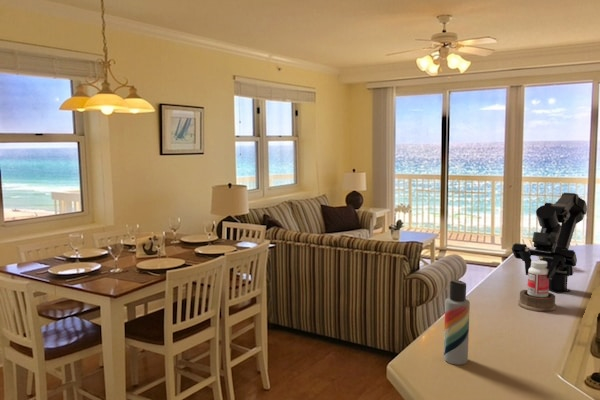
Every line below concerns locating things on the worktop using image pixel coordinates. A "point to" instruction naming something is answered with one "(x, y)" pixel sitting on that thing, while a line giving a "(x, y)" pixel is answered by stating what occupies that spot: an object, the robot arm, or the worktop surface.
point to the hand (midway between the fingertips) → (537, 276)
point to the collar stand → (537, 302)
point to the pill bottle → (538, 279)
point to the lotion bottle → (456, 324)
